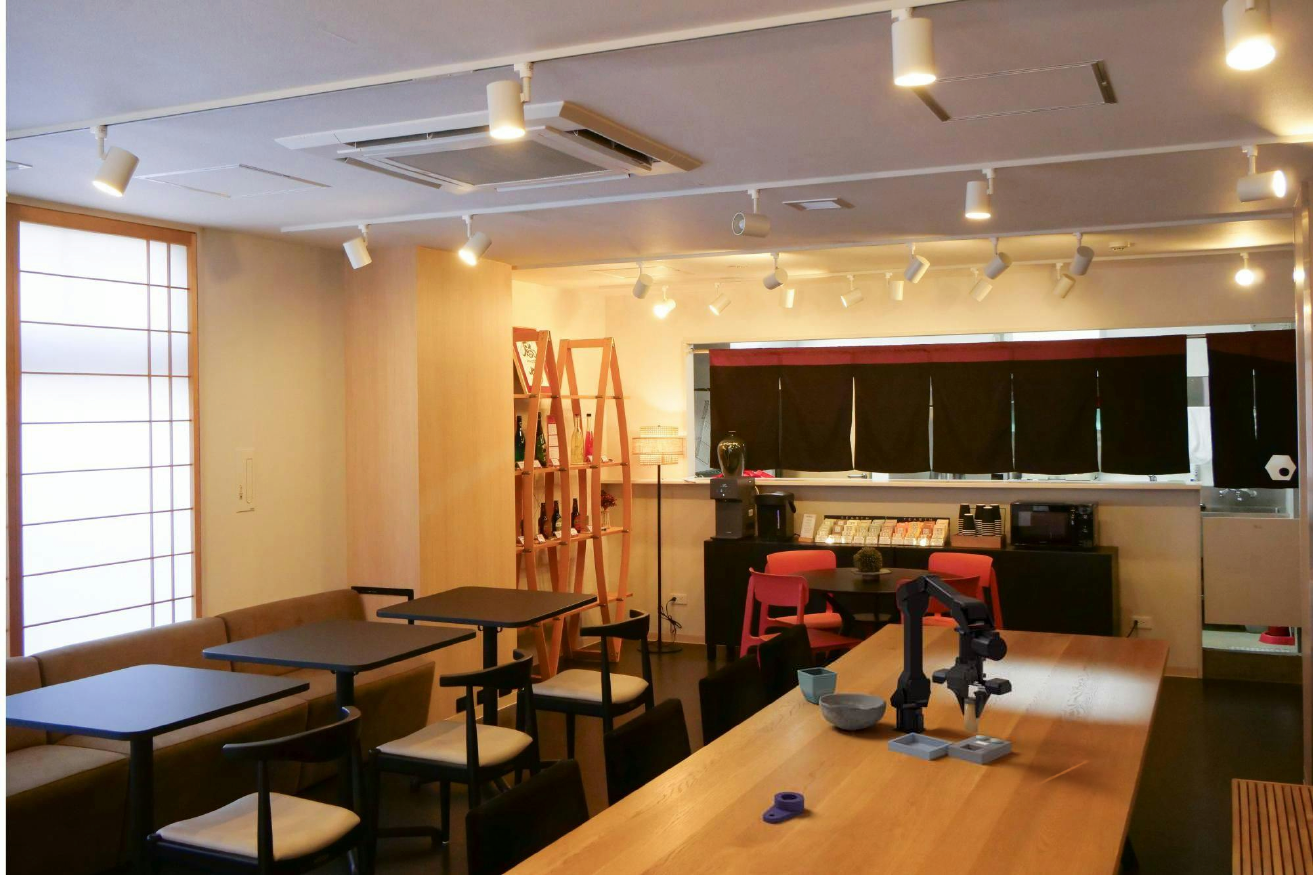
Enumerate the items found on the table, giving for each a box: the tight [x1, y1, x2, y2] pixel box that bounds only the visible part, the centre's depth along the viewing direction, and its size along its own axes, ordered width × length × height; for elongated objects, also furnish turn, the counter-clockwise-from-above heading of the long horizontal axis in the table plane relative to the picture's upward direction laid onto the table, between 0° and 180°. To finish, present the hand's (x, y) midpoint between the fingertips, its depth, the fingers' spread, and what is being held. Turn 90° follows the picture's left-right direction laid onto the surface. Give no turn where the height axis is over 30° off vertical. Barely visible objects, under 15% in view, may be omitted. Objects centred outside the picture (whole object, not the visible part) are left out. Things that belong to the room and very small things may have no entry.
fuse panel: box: [947, 734, 1012, 766], centre depth 261 cm, size 9×14×4 cm, turn 133°
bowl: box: [818, 692, 887, 731], centre depth 287 cm, size 18×18×8 cm
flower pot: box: [797, 667, 838, 705], centre depth 315 cm, size 9×9×9 cm
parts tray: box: [887, 733, 955, 761], centre depth 265 cm, size 12×11×2 cm
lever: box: [762, 791, 805, 824], centre depth 223 cm, size 12×6×3 cm, turn 142°
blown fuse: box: [963, 696, 979, 734], centre depth 258 cm, size 3×3×8 cm
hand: (971, 716), depth 258 cm, fingers closed on blown fuse, 3 cm apart
